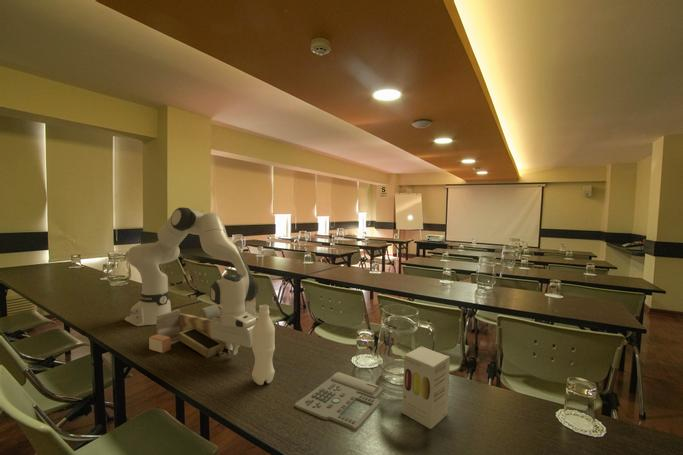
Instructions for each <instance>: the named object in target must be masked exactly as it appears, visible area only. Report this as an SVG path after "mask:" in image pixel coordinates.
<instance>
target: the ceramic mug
mask: <svg viewBox="0 0 683 455" xmlns="http://www.w3.org/2000/svg"><path fill="white" fill-rule="evenodd" d="M215 314H218V315H221V309H220V307H219V305H218V304H212V305H209V306H205V307H203V308H200V309H199V312H198V317H202V318H207V319H211V320H212V317H213V316H214V315H215Z"/></svg>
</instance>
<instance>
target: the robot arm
mask: <svg viewBox="0 0 683 455" xmlns="http://www.w3.org/2000/svg"><path fill="white" fill-rule="evenodd" d="M189 234H191V235H197V236H199V242H200V245H201V249H202V250H203V252H205V253H206V254H207V255H209V256H210V257H214V258H219V259H222V260H226V261H228V262H230V263H231V264H232V265H233V266H234V268H235V271H236V273H234V272H233V273H227V274H224V275H223V276H222V278H220V279H218V280H215V281H214V282H213V283H212V284H211V285H210V287H209V288H210V289H209V295H210V296H209V298H210V301H211V302H213V303H214V304H215V305H217V306H219V305H221V308H220V315H218V314H215V315H214V316H213V317H212V323H211V330H210V336H211V338H212V339H216V340H220V341H224V342H226V346H227V348H228V349H227V350H228V351H227V352H228V354H230V355H234V356H235V355H237V354H238V351H239V348H240V347H241V346H242V347H246V348H252V347H253V333H252V332H253V328H254V325H255V323H256V322H257V320H258V319H257V317H256V316H255V317H254V316H252V315H250V314H249V313H248V312H246V311H245V304H244V302H245V301H252V300H253V299H254V298H255V297H256V298H257V296H258V294H259V285H258V284H259V283H258V282H257V280H256V278H255V277H254V276H253V274H252V272H251V270H250V268H249V266H248V264H247V261H246V259H245V257H244V255H243V253H242V251H241V249H240V247H239V246H238V245H237V244H235V243H234V242H233V241H232V240H231V239H230V238H229V236H228V234H227V229H226V227H225V224H224V222H223V220H222V218H221V216H220V215H219V214H217V213H215V212H214V213H213V212H204V211H202V210H196V209H192V208H188V207H177V208H176V209H175V210H174V211H173V212H172V214H171V216H170V217H169V218H168V219H167V220H166V221H165V223H163V225H162V226H161V227H160V228H159V230H158V231H157V239H158V240H157V241H155V242H149V243H141V244H137V245H135V246H132V247H130V248H129V249H128V251H127V254H126V258H127V261H128V262H129V264H130V266H132V267H134V268H135V269H136V270H137V272H138V273H139V275H140V278H141V293H139V294H138V296H139V301H138V302H137V303H135V304H134V305H133V306H132V307H131V308H130V315H127V316H126V317H125V318H124V321H126V322H128V323H130V324H132V325H134V326H136V327H141V326H153V325H156V316H158V315H162V314H165V313H168V312H171V311H172V305H171V300H170V299H169V298H170V291H169V278H168V277H169V276H168V275H167V274H166V273H164V272H162V271H161V269H160V265H162V264H168V263H171V262H174V261H176V260H177V259H178V258H179V257H180V254H181V251H180V247H179V246H180V245H181V243H182V242H183V241H184V239H186V237H187V236H188V235H189ZM232 343H233V346H235V347H234V348H233V346H232Z"/></svg>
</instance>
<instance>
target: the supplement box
mask: <svg viewBox="0 0 683 455" xmlns="http://www.w3.org/2000/svg"><path fill="white" fill-rule="evenodd" d="M403 358H404V359H403V382H402V384H403V385H402V405H401V407H402V408H401V413H402V414H404V415H405V416H407V417H409V418H410V419H412V420H414V421H415V422H417V423H419V424H421V425H423V426H424V427H426V428H428V429H429V430H432V429H433V428H435V426H437V425H438V424H439V423H440V422H441V421H442V420H443V419H445V417H446V416H448V409H449V408H448V407H449V386H450V367H451V366H450V364H451V358H450V356H449V355H446V354H444V353H440V352H439V351H434V350H432V349H429V348H427V347H425V346H422V345H421V346H418V347H417V348H415V349H414V350H412V351H411V350H410V352H406V353H405V354H404V357H403Z"/></svg>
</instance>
